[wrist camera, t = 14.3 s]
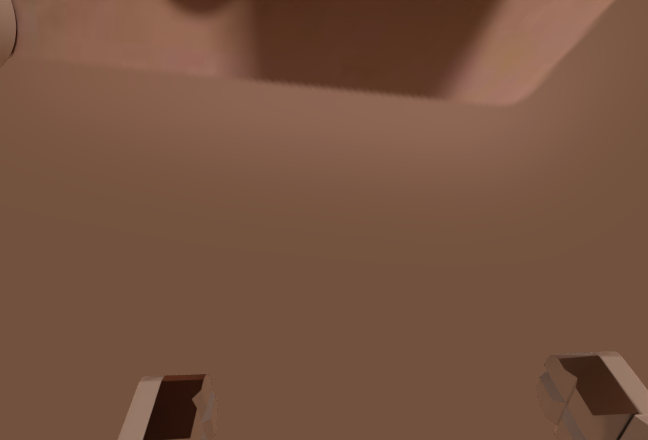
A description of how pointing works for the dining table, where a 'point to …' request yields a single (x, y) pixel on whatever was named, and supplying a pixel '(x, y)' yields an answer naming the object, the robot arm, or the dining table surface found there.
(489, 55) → the dining table surface
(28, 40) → the dining table surface
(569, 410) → the robot arm
